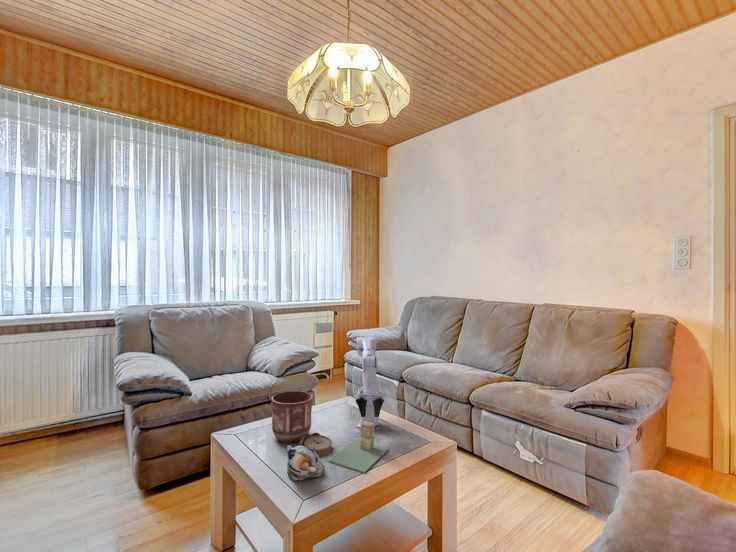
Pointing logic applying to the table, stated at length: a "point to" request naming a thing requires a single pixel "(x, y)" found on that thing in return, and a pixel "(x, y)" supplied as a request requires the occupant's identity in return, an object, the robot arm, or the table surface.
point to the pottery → (291, 415)
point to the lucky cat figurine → (303, 463)
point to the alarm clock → (317, 443)
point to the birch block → (367, 436)
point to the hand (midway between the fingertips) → (370, 417)
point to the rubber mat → (358, 456)
